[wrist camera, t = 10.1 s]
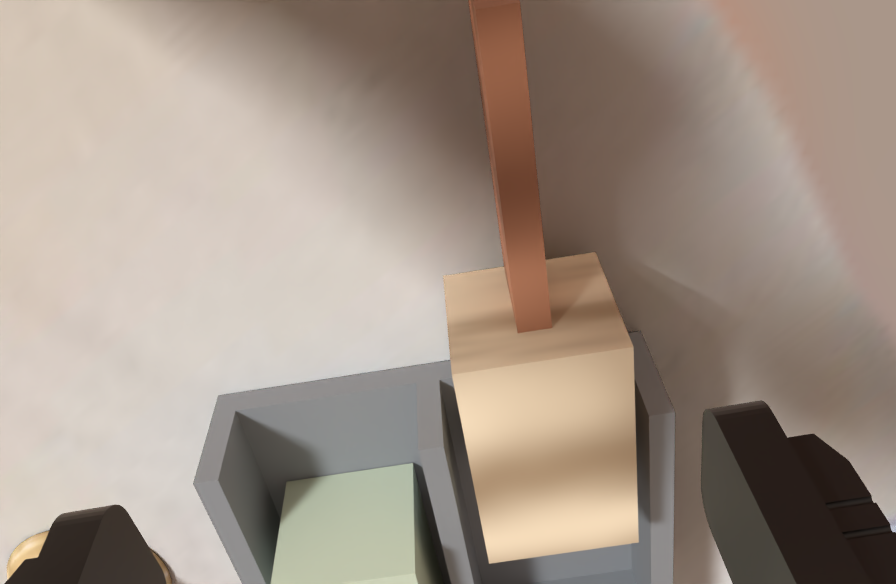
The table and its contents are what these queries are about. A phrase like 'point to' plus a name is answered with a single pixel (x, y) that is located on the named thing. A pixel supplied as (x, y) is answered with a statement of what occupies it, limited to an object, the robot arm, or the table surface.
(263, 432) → the lane shelf
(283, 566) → the sage block
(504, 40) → the wooden handled block
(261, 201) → the table surface
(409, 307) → the table surface
